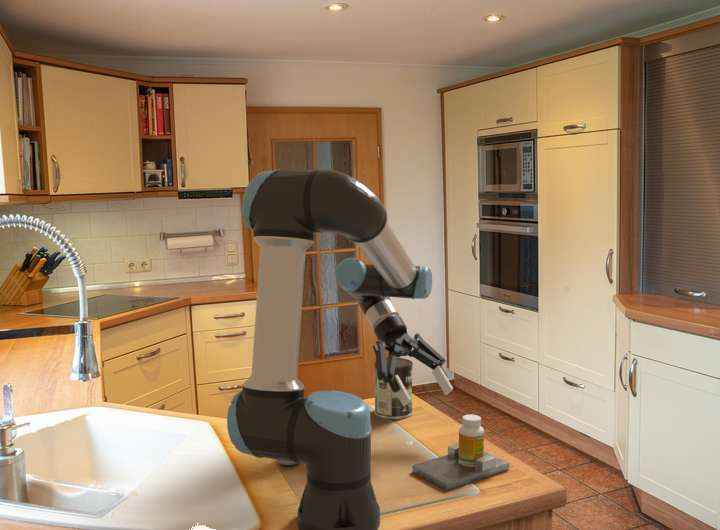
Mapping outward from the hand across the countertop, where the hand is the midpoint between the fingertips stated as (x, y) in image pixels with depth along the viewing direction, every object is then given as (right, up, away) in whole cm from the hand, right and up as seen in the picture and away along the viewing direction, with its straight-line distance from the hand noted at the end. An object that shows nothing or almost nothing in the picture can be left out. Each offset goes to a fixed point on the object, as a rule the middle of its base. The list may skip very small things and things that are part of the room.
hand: (428, 397), depth 158 cm
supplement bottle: (+8, -12, -9) cm, 17 cm away
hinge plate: (+6, -14, -11) cm, 18 cm away
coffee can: (-7, -10, +26) cm, 29 cm away
